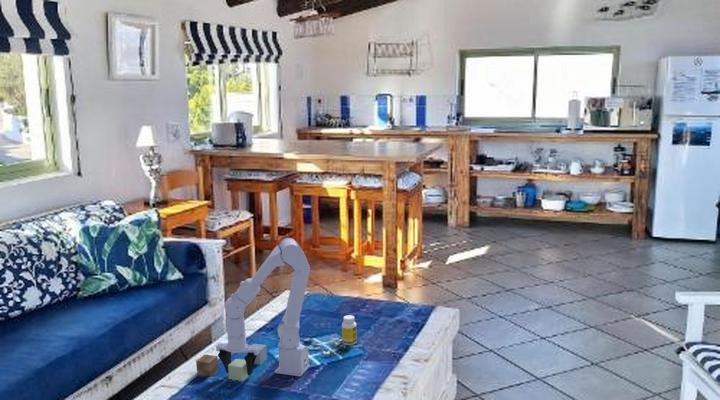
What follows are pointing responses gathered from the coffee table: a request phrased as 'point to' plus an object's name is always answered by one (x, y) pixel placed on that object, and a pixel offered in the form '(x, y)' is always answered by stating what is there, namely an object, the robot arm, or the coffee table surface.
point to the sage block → (238, 370)
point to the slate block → (260, 354)
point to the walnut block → (207, 365)
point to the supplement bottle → (349, 330)
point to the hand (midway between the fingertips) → (239, 372)
